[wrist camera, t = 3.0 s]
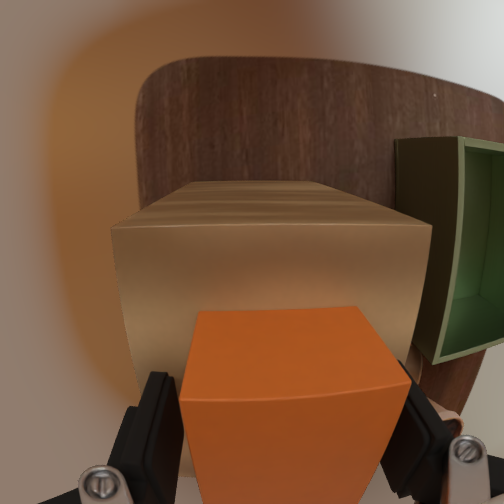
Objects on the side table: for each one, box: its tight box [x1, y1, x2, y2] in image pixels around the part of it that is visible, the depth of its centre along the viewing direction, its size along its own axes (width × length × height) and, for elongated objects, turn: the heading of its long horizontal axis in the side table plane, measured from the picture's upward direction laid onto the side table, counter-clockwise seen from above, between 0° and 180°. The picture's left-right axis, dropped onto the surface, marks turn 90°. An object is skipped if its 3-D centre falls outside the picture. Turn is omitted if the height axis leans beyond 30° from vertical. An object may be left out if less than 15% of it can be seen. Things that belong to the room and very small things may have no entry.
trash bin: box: [394, 136, 504, 365], centre depth 23 cm, size 13×17×10 cm
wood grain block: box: [111, 180, 432, 477], centre depth 19 cm, size 12×10×18 cm
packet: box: [179, 306, 412, 504], centre depth 9 cm, size 7×5×4 cm
